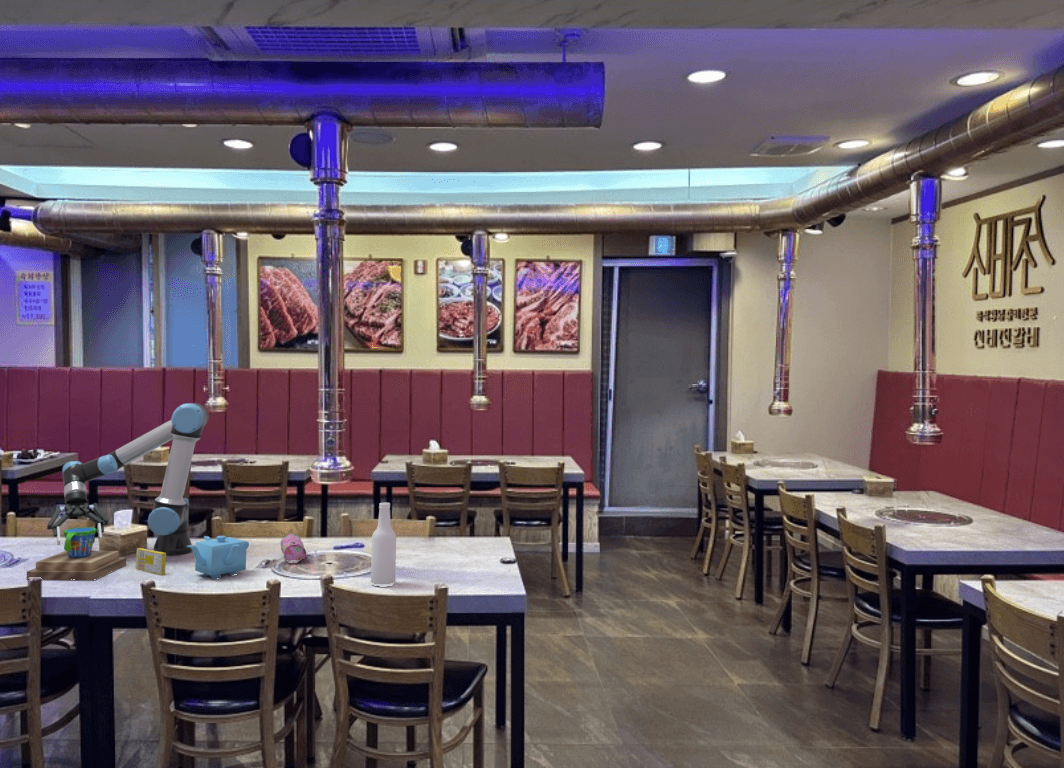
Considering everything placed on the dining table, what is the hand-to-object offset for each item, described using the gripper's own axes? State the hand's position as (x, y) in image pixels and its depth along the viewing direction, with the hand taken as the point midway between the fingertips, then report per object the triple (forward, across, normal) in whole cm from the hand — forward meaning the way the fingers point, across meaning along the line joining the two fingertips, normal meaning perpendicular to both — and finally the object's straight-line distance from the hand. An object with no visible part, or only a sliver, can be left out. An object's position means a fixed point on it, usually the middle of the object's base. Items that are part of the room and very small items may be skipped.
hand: (80, 541), depth 291 cm
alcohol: (+62, -88, +45) cm, 117 cm away
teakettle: (+30, -42, +12) cm, 53 cm away
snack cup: (+3, 0, -6) cm, 7 cm away
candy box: (+17, -22, -1) cm, 28 cm away
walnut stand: (+7, 0, -10) cm, 12 cm away
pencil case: (+22, -75, +4) cm, 78 cm away
